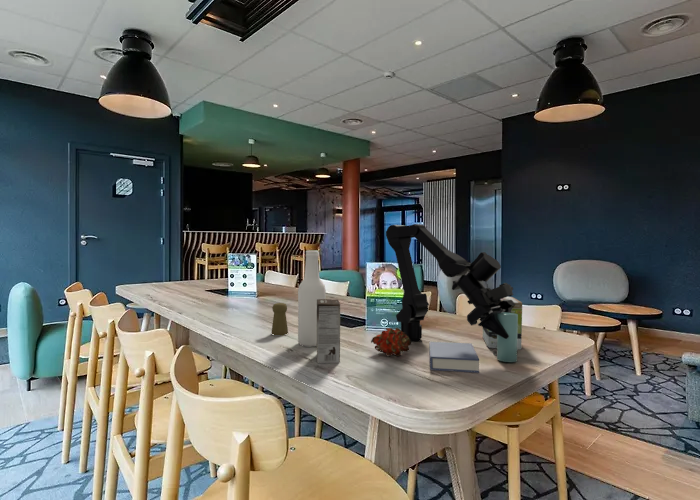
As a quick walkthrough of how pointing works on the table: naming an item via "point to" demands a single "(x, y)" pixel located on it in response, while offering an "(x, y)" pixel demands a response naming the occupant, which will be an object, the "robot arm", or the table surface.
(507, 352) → the teal smooth upright cylinder
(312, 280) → the alcohol
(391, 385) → the table surface
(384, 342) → the dragon fruit
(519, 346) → the tea box
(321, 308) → the coffee box
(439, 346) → the book
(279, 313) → the cork
